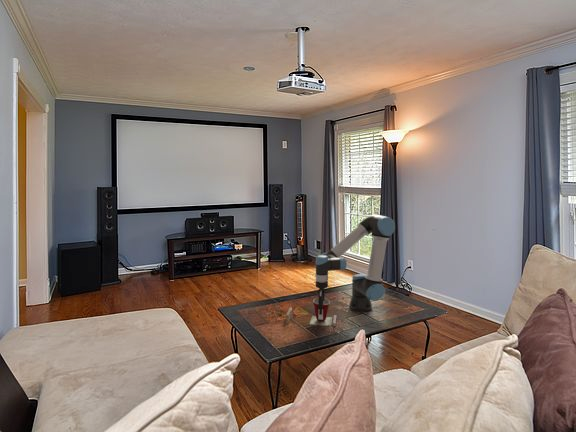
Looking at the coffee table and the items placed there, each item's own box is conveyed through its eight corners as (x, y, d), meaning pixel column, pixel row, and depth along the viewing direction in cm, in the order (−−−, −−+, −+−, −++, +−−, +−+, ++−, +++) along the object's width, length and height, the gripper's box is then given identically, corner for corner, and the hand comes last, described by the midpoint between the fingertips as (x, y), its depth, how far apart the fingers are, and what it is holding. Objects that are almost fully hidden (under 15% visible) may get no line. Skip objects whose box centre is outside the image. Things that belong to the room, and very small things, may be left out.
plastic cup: (329, 323, 229) (329, 304, 227) (311, 322, 231) (311, 302, 230) (330, 316, 239) (331, 298, 238) (313, 315, 241) (314, 297, 240)
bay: (336, 318, 240) (336, 310, 239) (335, 326, 227) (335, 318, 227) (289, 315, 245) (289, 307, 245) (286, 322, 233) (286, 314, 232)
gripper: (317, 275, 244) (317, 309, 246) (313, 285, 222) (313, 322, 225) (329, 276, 242) (328, 310, 245) (326, 286, 221) (326, 323, 224)
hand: (321, 316), depth 235 cm, fingers closed on plastic cup, 9 cm apart
